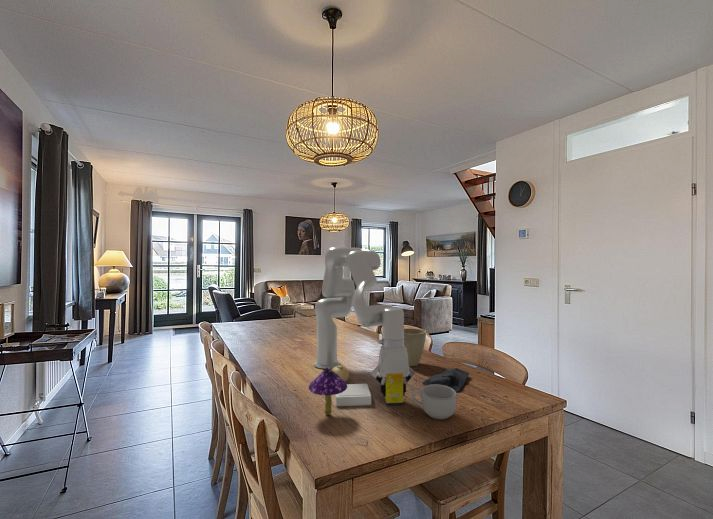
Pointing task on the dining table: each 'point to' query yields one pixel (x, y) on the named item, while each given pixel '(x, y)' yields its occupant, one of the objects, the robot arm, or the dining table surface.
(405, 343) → the plant pot
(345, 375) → the onion
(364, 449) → the dining table surface
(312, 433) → the dining table surface
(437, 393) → the teacup
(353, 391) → the blank white picture frame
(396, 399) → the supplement box
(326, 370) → the decorative mushroom
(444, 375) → the dark slate chunk
